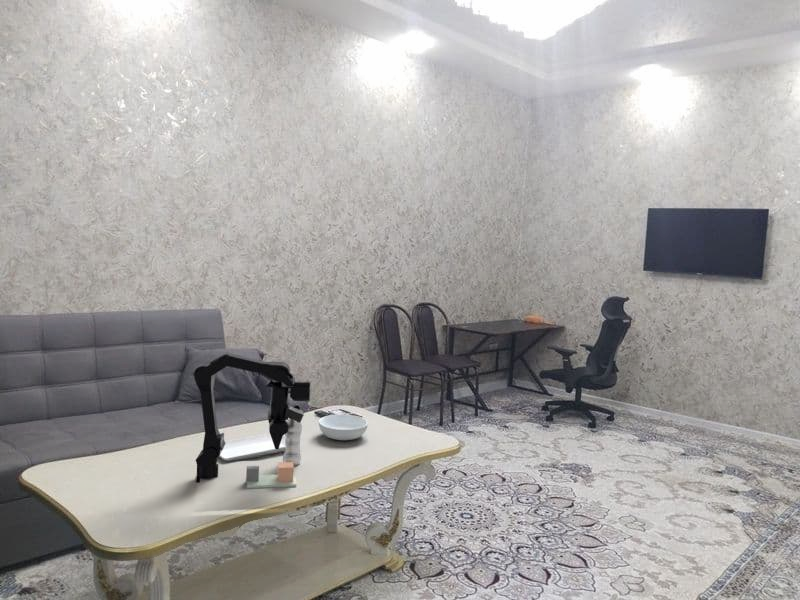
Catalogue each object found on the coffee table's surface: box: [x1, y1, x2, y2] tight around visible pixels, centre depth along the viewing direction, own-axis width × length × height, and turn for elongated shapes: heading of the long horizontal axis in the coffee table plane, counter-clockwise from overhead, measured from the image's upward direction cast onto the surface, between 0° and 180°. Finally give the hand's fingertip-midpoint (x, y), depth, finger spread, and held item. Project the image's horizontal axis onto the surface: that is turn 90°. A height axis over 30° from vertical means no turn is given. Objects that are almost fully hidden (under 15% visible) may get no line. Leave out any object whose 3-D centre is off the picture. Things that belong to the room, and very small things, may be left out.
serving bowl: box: [318, 414, 369, 441], centre depth 259 cm, size 21×21×7 cm
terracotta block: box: [277, 461, 295, 482], centre depth 206 cm, size 5×5×5 cm
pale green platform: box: [245, 465, 297, 489], centre depth 205 cm, size 16×9×5 cm, turn 103°
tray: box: [219, 432, 285, 463], centre depth 235 cm, size 17×32×4 cm, turn 131°
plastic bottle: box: [282, 418, 303, 467], centre depth 222 cm, size 6×7×20 cm
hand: (276, 444), depth 208 cm, fingers open, 9 cm apart
